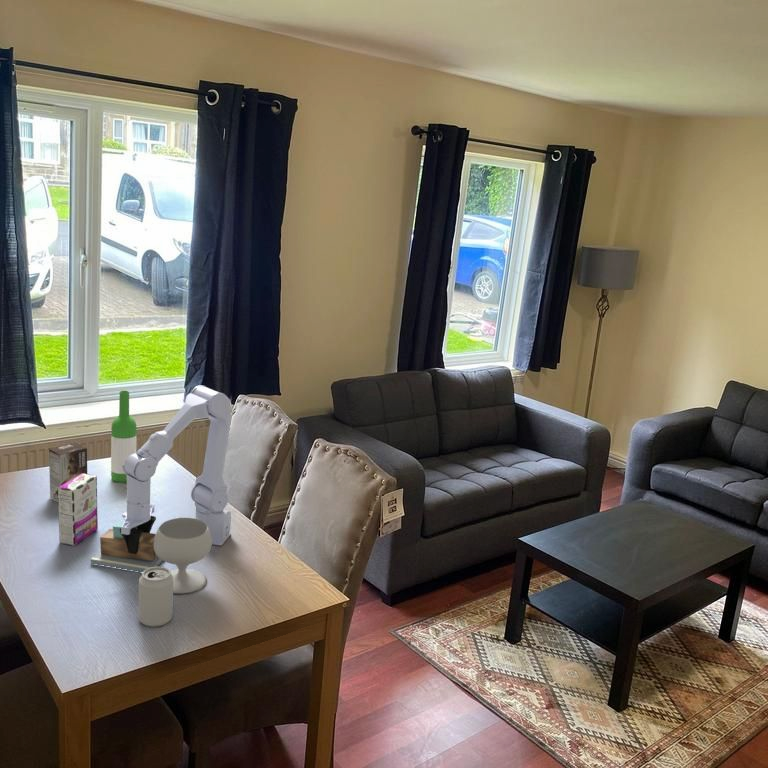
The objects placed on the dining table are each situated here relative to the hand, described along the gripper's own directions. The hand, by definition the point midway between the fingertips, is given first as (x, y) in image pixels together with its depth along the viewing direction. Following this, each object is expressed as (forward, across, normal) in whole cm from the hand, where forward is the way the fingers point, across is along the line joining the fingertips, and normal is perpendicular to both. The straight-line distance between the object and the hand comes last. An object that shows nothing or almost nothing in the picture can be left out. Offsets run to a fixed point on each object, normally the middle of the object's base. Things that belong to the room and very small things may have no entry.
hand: (137, 548), depth 192 cm
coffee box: (+4, -30, -37) cm, 47 cm away
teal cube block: (-3, 0, -4) cm, 5 cm away
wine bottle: (+4, -48, -29) cm, 57 cm away
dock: (+4, 0, -2) cm, 4 cm away
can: (+4, +24, +16) cm, 29 cm away
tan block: (+2, 0, -2) cm, 3 cm away
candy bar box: (+4, -8, -21) cm, 23 cm away
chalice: (+4, +6, +15) cm, 17 cm away
